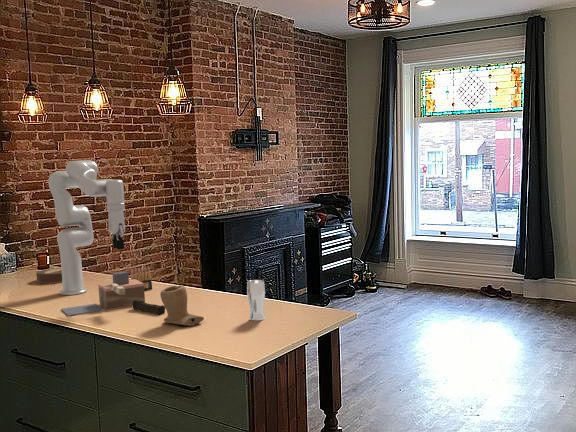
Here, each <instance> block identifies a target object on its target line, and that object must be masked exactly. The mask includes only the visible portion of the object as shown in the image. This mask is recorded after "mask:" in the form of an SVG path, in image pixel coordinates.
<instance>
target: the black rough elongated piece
mask: <svg viewBox="0 0 576 432" xmlns="http://www.w3.org/2000/svg"><path fill="white" fill-rule="evenodd" d="M132 309H133V310H134V311H138V312H149V313H153V314H157V315H158V316H161V315H164V314H165V312H166V308H165V306H164V304H162V305H158V304H154V303H147V302H145V303H144V301H142V300H136V299H135V300H134V301H133V304H132Z"/></svg>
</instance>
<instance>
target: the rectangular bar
mask: <svg viewBox="0 0 576 432" xmlns="http://www.w3.org/2000/svg"><path fill="white" fill-rule="evenodd" d="M111 283H112V282H111ZM110 286H111V290H112V291H114V292H116V293H118V294H119V295H124V294H125V288H123V287H121V286H119V285H118V284H116V283H112V284H110Z"/></svg>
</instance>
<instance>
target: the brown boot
mask: <svg viewBox="0 0 576 432" xmlns="http://www.w3.org/2000/svg"><path fill="white" fill-rule="evenodd" d="M160 300H161V302H162V305H163V306H165V311H166V312H167V316H166V317H164V318H163V322H165V323H166V324H167V323H168V324H173V325H181V326H189V327H191V326H195V325H198V324H199V323H201V322H202V321H204V319H205V318H204V316H201V315H195V314H190V313H188V292H187V289H186V287H185V286H184V285H183V284H180V285H172V286H171V285H170V286H169V287H165V288H163V289H162V290H160Z"/></svg>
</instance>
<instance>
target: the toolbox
mask: <svg viewBox="0 0 576 432" xmlns="http://www.w3.org/2000/svg"><path fill="white" fill-rule="evenodd" d="M98 297H99V298H98V302H99V306H100V307H102V308H103V309H105V310H108V311H109V310H112V309H113V310H114V309H118V308H119V309H120V308H125V307H131V306H132V307H133V305H132V304H133V301H134V300H135V299H136V300H142V301H144V303H146V296H145V291H144V286H140V287H133V288H126V289H125V294H124V295H119V294H118V293H116V292H114V291H104V290H103V289H101V288H99V287H98Z"/></svg>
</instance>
